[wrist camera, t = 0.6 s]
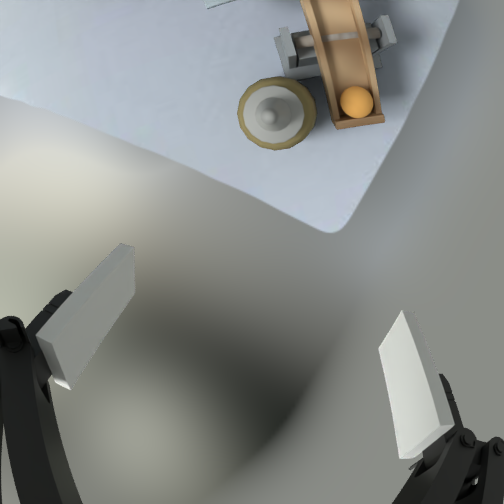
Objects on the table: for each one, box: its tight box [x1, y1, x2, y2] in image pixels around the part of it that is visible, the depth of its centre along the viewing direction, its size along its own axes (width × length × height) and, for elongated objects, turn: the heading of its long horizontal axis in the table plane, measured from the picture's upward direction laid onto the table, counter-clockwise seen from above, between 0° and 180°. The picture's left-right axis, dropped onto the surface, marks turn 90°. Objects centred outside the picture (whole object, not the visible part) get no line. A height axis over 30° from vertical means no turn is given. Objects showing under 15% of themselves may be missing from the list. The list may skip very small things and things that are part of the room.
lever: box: [204, 0, 385, 130], centre depth 23 cm, size 19×15×6 cm
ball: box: [340, 86, 373, 118], centre depth 25 cm, size 3×3×3 cm
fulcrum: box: [274, 15, 397, 80], centre depth 25 cm, size 6×12×10 cm, turn 105°
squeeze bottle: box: [237, 76, 317, 150], centre depth 26 cm, size 8×8×18 cm
